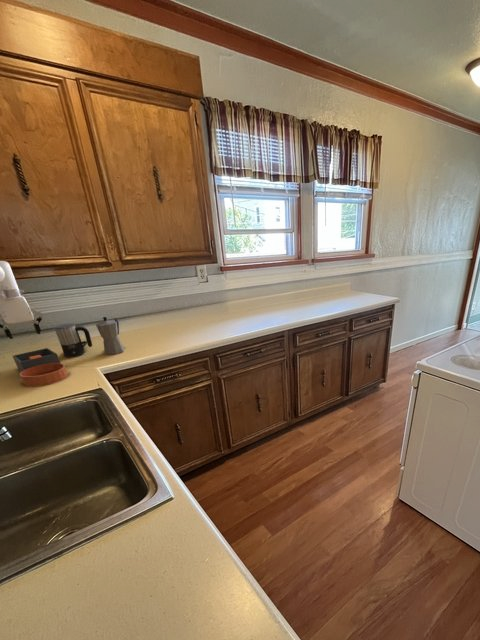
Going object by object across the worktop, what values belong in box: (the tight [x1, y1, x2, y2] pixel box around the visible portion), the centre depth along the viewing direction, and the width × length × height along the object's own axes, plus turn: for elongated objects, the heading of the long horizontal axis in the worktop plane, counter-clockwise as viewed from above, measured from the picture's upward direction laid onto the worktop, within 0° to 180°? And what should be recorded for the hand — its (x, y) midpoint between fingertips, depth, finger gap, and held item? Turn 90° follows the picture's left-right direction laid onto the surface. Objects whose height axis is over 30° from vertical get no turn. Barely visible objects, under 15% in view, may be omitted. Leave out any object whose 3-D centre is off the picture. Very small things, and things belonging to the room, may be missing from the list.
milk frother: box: [52, 323, 93, 358], centre depth 166 cm, size 14×16×15 cm
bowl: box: [19, 362, 69, 387], centre depth 135 cm, size 15×15×5 cm
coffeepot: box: [95, 316, 125, 356], centre depth 165 cm, size 15×9×18 cm, turn 174°
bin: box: [12, 347, 61, 373], centre depth 145 cm, size 13×13×8 cm
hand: (25, 335), depth 138 cm, fingers open, 9 cm apart
